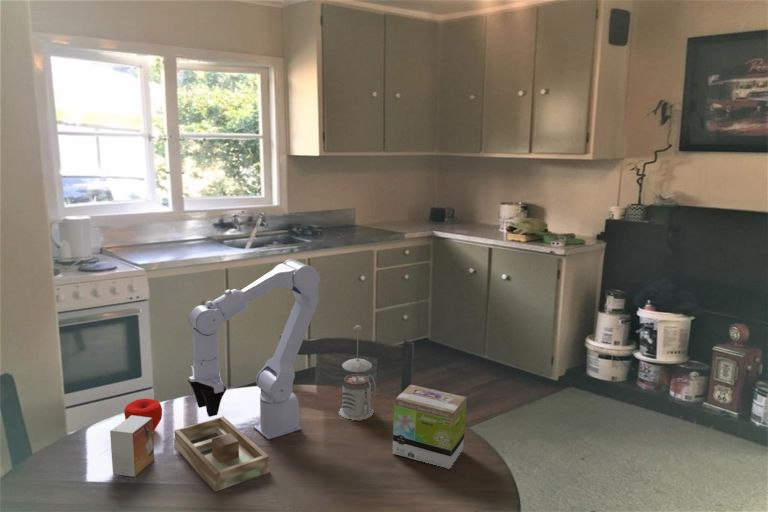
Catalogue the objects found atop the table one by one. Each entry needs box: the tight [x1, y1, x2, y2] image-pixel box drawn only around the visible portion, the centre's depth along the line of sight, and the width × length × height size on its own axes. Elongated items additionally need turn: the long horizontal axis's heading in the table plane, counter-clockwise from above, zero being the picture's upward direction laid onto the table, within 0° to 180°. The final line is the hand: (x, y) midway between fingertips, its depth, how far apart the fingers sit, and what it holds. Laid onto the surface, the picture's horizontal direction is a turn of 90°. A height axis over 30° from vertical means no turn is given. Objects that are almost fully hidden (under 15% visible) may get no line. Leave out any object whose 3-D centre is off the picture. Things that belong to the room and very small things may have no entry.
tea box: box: [392, 384, 468, 469], centre depth 145 cm, size 15×10×15 cm, turn 65°
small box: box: [109, 415, 155, 478], centre depth 136 cm, size 8×6×10 cm
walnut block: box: [212, 433, 239, 463], centre depth 139 cm, size 4×4×4 cm
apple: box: [123, 398, 163, 432], centre depth 152 cm, size 9×9×8 cm
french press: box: [338, 324, 377, 421], centre depth 164 cm, size 10×12×25 cm
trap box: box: [173, 415, 271, 493], centre depth 141 cm, size 13×24×4 cm, turn 39°
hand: (207, 410), depth 145 cm, fingers open, 5 cm apart
